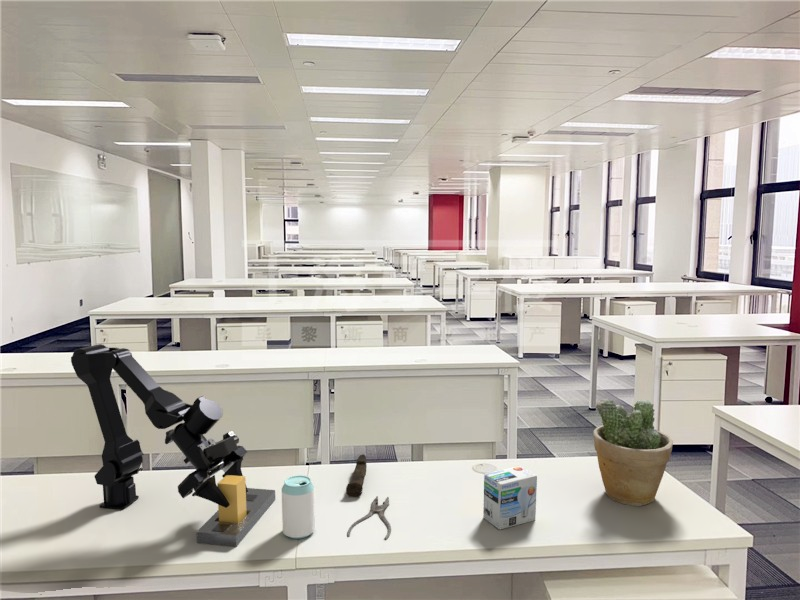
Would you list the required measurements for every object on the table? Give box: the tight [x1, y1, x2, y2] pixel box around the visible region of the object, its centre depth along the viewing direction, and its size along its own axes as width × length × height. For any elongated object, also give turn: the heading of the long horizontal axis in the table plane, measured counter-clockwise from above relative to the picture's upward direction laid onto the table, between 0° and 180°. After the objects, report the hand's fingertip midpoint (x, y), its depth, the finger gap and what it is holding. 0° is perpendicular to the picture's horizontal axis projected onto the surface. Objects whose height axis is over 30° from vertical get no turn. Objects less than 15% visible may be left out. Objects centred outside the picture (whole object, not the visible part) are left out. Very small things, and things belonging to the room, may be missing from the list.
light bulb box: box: [482, 465, 538, 530], centre depth 137 cm, size 11×7×11 cm, turn 117°
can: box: [281, 474, 316, 540], centre depth 131 cm, size 7×7×12 cm
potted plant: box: [592, 398, 674, 507], centre depth 147 cm, size 18×19×25 cm
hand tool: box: [346, 454, 368, 498], centre depth 157 cm, size 19×4×5 cm, turn 174°
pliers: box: [346, 495, 392, 541], centre depth 138 cm, size 10×1×20 cm
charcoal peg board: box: [196, 487, 276, 548], centre depth 137 cm, size 9×22×3 cm, turn 170°
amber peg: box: [216, 475, 247, 523], centre depth 133 cm, size 4×4×11 cm
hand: (237, 499), depth 133 cm, fingers open, 7 cm apart
